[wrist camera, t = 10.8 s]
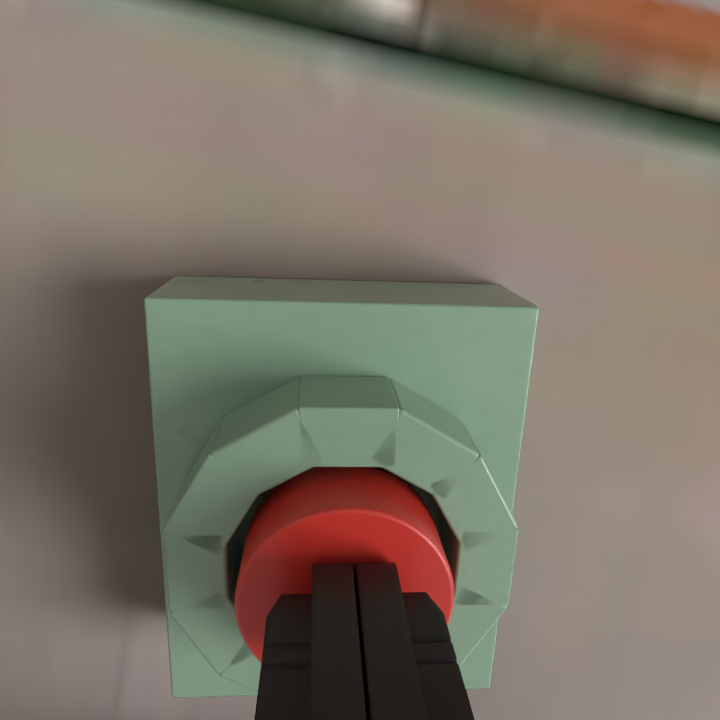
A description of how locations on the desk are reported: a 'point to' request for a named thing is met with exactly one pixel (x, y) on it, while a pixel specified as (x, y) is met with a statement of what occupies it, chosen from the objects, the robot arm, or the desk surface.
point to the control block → (331, 436)
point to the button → (336, 540)
